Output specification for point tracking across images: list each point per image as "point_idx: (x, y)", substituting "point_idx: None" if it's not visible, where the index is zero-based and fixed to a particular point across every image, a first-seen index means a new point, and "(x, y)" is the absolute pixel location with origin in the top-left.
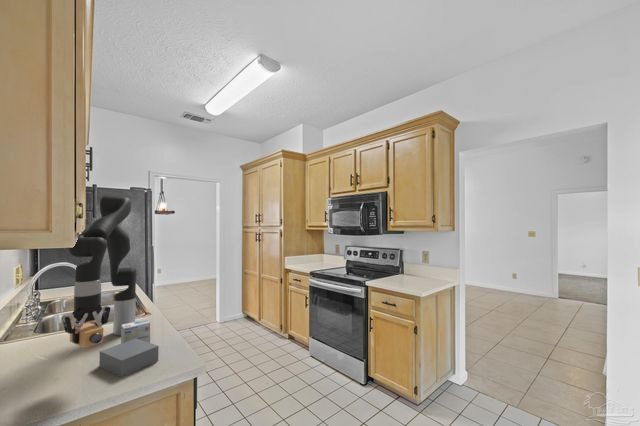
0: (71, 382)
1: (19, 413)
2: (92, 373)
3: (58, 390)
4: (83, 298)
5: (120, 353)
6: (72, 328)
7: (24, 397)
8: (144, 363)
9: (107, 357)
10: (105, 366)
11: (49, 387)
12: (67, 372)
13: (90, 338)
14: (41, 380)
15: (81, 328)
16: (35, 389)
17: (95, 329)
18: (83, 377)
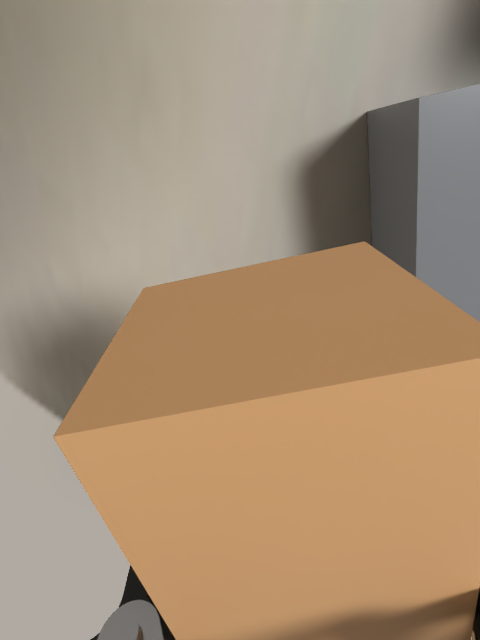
0: (203, 224)
1: (28, 357)
2: (306, 193)
3: (147, 269)
4: None
5: (470, 297)
6: (110, 528)
7: (13, 218)
8: None
9: (405, 236)
10: (377, 198)
11: (110, 193)
12: (202, 21)
13: None
14: (59, 19)
15: (249, 619)
16: (46, 155)
17: None
18: (259, 209)
